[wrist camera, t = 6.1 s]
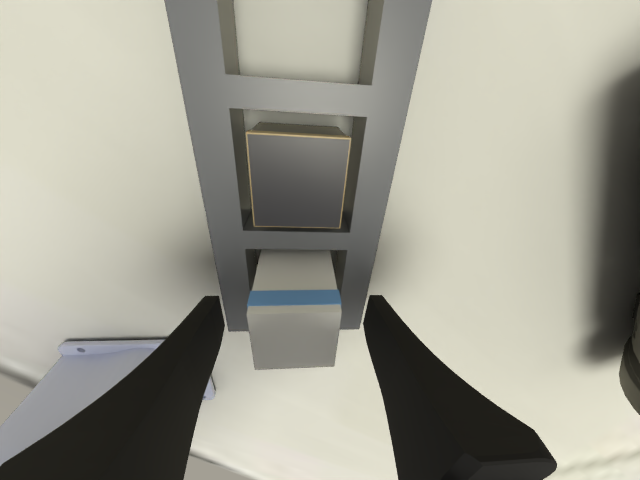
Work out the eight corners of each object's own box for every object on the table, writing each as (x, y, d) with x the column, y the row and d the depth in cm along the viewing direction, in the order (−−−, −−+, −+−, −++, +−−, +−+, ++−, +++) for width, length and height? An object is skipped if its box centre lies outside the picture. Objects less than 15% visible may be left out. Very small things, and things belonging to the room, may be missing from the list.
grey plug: (267, 281, 16) (253, 370, 11) (263, 232, 14) (245, 313, 9) (323, 280, 17) (335, 367, 12) (327, 233, 15) (343, 311, 10)
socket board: (236, 302, 17) (225, 343, 14) (163, -181, 7) (77, -349, 4) (352, 301, 18) (361, 340, 15) (432, -136, 8) (503, -254, 5)
